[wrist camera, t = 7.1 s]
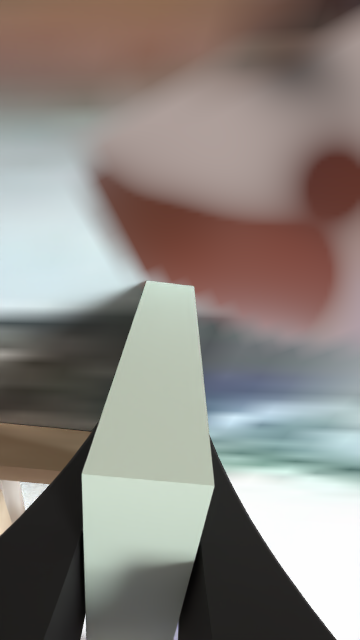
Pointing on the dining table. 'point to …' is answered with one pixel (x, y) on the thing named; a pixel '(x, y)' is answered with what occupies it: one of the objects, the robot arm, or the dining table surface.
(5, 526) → the offcut upper
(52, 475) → the rack
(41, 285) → the dining table surface
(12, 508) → the offcut lower
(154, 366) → the pale green slab
